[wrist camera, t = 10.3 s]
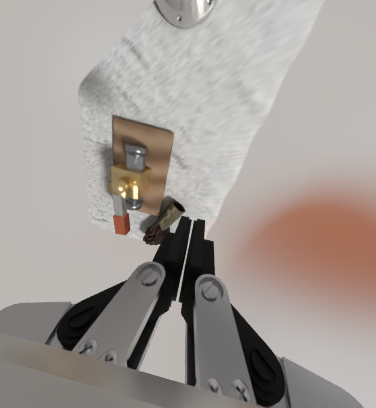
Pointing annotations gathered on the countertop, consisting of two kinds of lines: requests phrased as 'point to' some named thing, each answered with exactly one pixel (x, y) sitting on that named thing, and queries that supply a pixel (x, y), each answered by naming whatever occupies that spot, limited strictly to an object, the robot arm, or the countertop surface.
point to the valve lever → (120, 205)
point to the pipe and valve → (134, 175)
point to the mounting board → (155, 160)
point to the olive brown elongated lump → (163, 223)
